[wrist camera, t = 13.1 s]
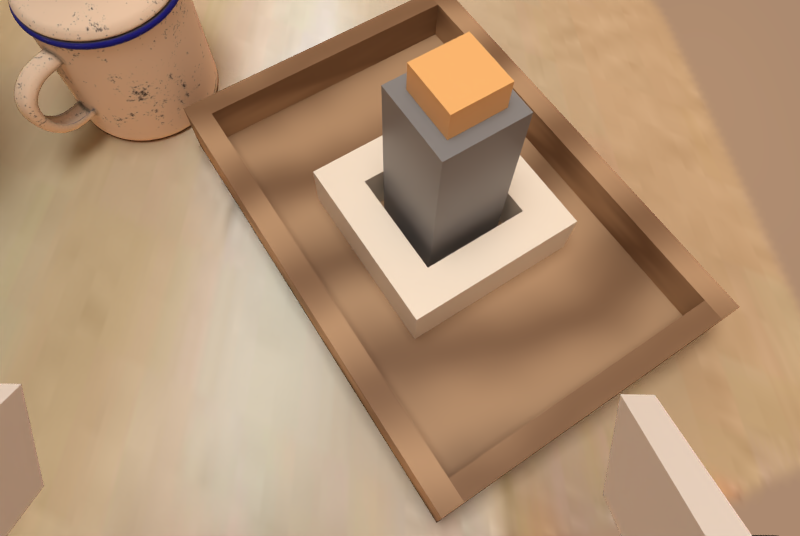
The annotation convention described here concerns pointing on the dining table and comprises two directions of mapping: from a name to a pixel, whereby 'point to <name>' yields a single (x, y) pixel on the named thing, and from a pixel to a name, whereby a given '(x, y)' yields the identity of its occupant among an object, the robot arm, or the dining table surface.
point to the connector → (450, 146)
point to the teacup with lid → (116, 64)
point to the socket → (458, 272)
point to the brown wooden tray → (485, 318)
